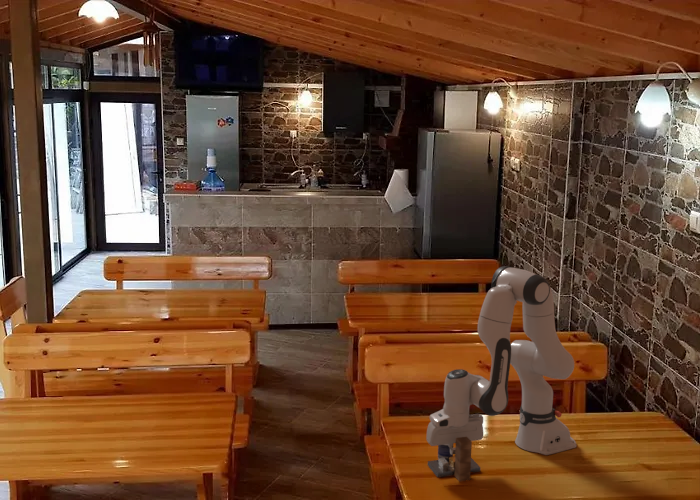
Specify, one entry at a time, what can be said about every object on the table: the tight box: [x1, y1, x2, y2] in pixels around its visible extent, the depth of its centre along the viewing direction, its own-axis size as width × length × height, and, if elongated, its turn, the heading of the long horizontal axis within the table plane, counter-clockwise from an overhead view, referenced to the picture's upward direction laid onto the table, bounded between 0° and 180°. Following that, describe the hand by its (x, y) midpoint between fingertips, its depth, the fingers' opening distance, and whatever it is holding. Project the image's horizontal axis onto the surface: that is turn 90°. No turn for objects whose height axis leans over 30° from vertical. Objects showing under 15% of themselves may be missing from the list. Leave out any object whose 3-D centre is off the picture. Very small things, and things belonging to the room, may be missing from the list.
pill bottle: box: [437, 444, 454, 460], centre depth 271 cm, size 5×5×10 cm
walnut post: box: [453, 437, 473, 482], centre depth 257 cm, size 4×4×14 cm
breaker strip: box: [427, 455, 482, 478], centre depth 265 cm, size 16×9×4 cm, turn 106°
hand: (454, 453), depth 264 cm, fingers closed
